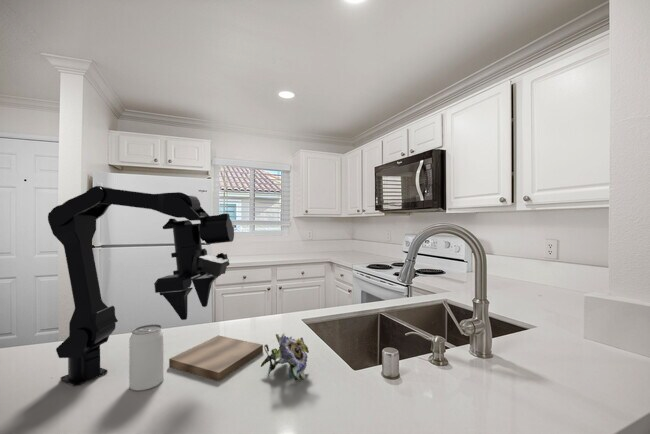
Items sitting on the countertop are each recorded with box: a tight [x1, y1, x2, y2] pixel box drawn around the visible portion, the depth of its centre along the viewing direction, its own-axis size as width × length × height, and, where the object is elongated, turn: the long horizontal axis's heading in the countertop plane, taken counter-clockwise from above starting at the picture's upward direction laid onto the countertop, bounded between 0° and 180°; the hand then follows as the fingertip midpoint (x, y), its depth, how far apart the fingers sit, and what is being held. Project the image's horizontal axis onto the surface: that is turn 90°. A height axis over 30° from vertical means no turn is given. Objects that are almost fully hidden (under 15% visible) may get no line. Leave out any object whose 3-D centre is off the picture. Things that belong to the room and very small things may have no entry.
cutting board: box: [168, 334, 264, 382], centre depth 76 cm, size 16×16×2 cm
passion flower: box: [260, 332, 310, 382], centre depth 68 cm, size 11×11×12 cm
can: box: [128, 323, 165, 392], centre depth 65 cm, size 6×6×12 cm
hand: (195, 312), depth 69 cm, fingers open, 9 cm apart
